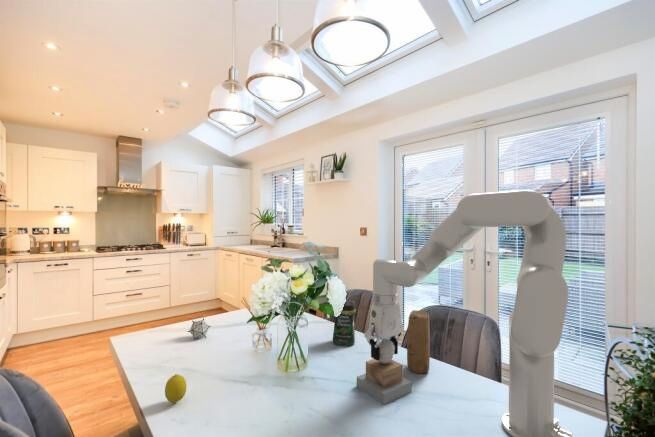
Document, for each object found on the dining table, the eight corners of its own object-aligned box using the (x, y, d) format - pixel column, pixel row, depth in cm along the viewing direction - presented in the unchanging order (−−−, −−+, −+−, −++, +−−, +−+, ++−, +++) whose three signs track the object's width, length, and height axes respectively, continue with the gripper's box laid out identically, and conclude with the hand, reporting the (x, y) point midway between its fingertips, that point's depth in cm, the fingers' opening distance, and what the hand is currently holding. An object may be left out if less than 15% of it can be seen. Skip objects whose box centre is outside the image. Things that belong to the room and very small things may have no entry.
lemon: (180, 395, 92) (181, 368, 92) (189, 402, 88) (190, 374, 88) (161, 403, 87) (161, 374, 88) (169, 411, 84) (170, 381, 84)
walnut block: (402, 381, 96) (402, 364, 96) (384, 388, 91) (384, 371, 91) (383, 370, 102) (383, 355, 103) (365, 377, 98) (365, 361, 98)
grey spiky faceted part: (194, 347, 136) (179, 330, 134) (206, 334, 143) (192, 317, 142) (206, 341, 132) (191, 323, 131) (218, 327, 140) (204, 310, 138)
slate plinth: (411, 391, 96) (411, 382, 96) (384, 404, 88) (384, 394, 89) (383, 375, 105) (383, 367, 105) (356, 386, 98) (356, 376, 98)
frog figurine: (400, 361, 97) (398, 339, 97) (385, 370, 93) (384, 347, 92) (384, 355, 102) (383, 334, 102) (370, 363, 97) (369, 341, 97)
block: (428, 376, 105) (428, 317, 105) (405, 372, 108) (406, 314, 108) (431, 363, 115) (431, 309, 115) (410, 359, 118) (411, 307, 118)
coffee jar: (331, 345, 131) (331, 301, 131) (334, 338, 139) (335, 297, 139) (353, 347, 129) (354, 303, 129) (356, 340, 136) (356, 298, 137)
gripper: (373, 305, 89) (372, 367, 89) (412, 297, 99) (412, 353, 99) (356, 300, 95) (355, 358, 95) (394, 293, 105) (394, 345, 105)
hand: (384, 355), depth 97 cm, fingers open, 7 cm apart
